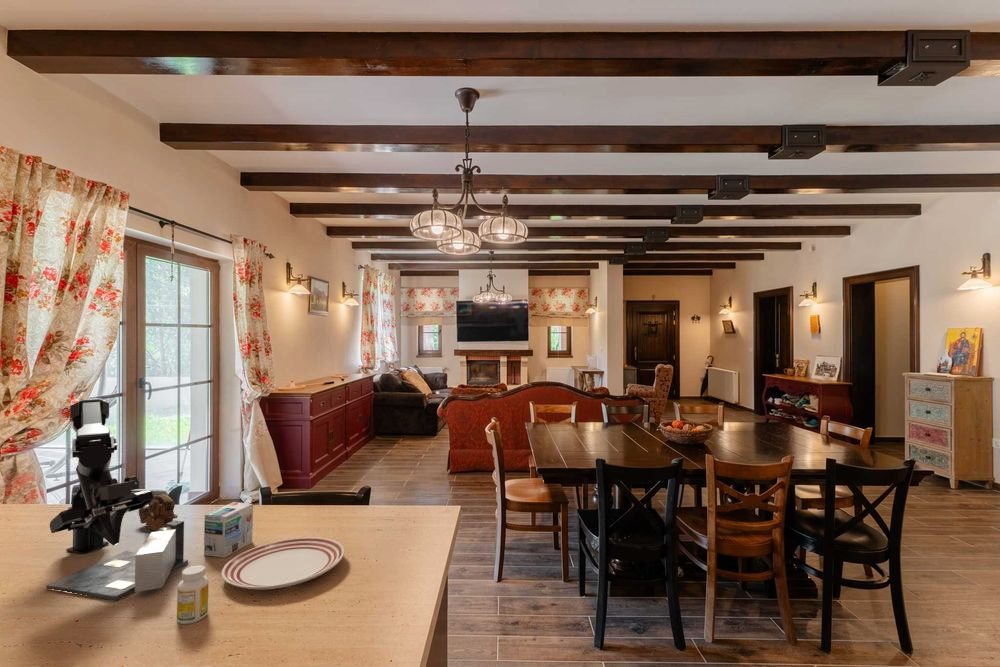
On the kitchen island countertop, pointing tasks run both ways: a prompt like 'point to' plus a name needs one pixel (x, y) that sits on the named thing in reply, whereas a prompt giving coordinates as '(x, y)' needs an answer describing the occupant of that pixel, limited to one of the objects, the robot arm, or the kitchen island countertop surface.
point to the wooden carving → (158, 512)
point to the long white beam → (155, 559)
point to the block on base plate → (115, 573)
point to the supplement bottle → (192, 595)
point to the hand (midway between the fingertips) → (116, 544)
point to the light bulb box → (228, 529)
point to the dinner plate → (283, 563)
